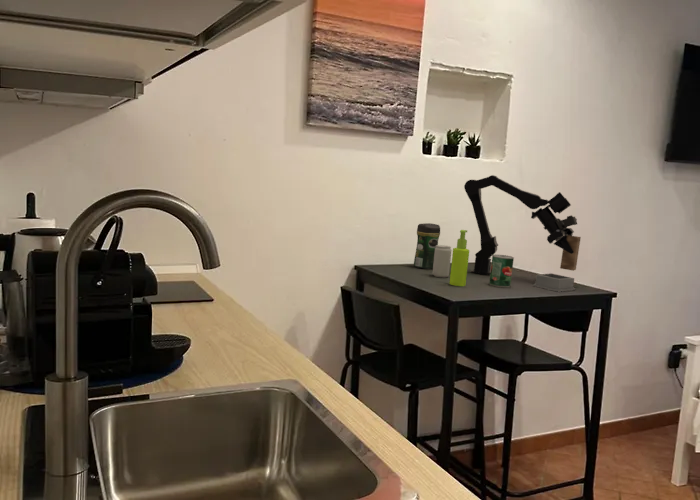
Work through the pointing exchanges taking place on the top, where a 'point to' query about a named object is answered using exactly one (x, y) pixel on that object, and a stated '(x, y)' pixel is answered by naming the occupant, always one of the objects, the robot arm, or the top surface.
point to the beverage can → (442, 261)
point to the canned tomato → (501, 270)
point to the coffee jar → (426, 245)
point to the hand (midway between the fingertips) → (574, 252)
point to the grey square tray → (554, 282)
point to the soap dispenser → (459, 262)
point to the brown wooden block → (571, 259)
